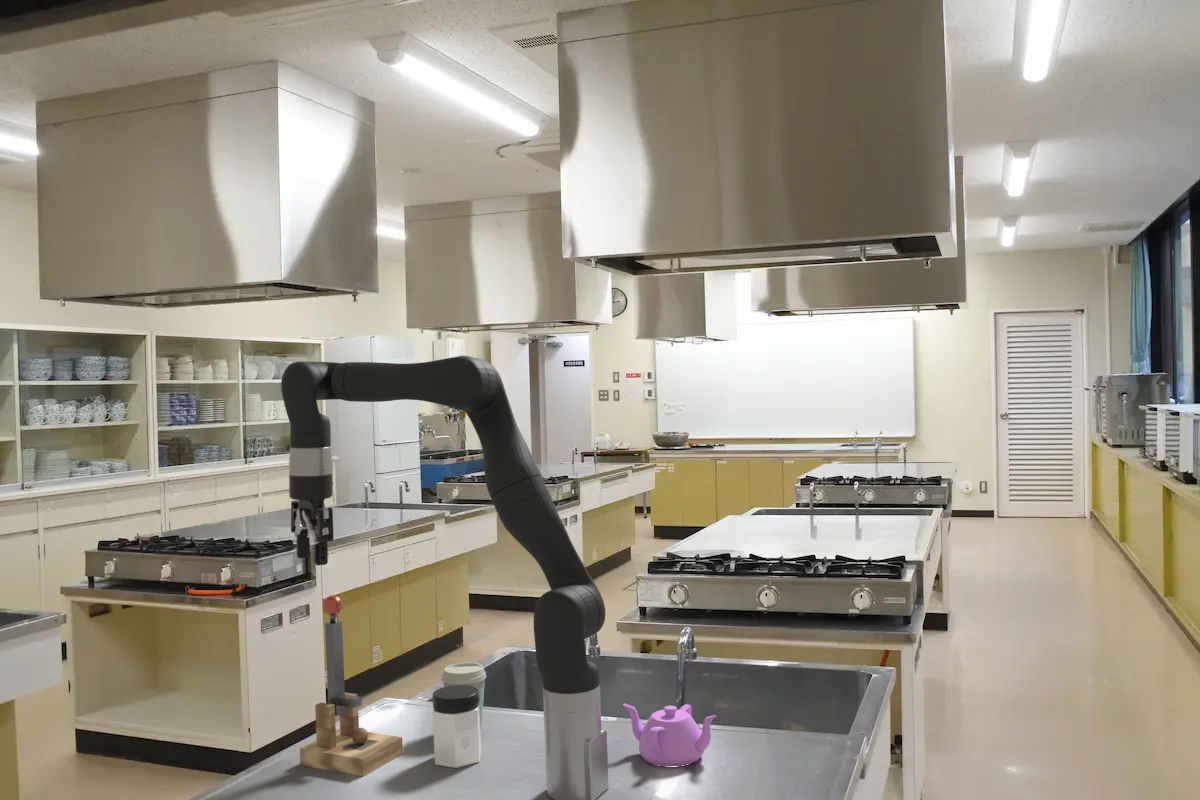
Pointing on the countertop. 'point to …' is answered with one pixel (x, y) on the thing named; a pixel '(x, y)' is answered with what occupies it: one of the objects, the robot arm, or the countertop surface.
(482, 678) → the coffee cup
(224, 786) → the countertop surface
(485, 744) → the countertop surface
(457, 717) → the jar
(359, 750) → the cracker base
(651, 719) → the teapot
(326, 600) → the lever
